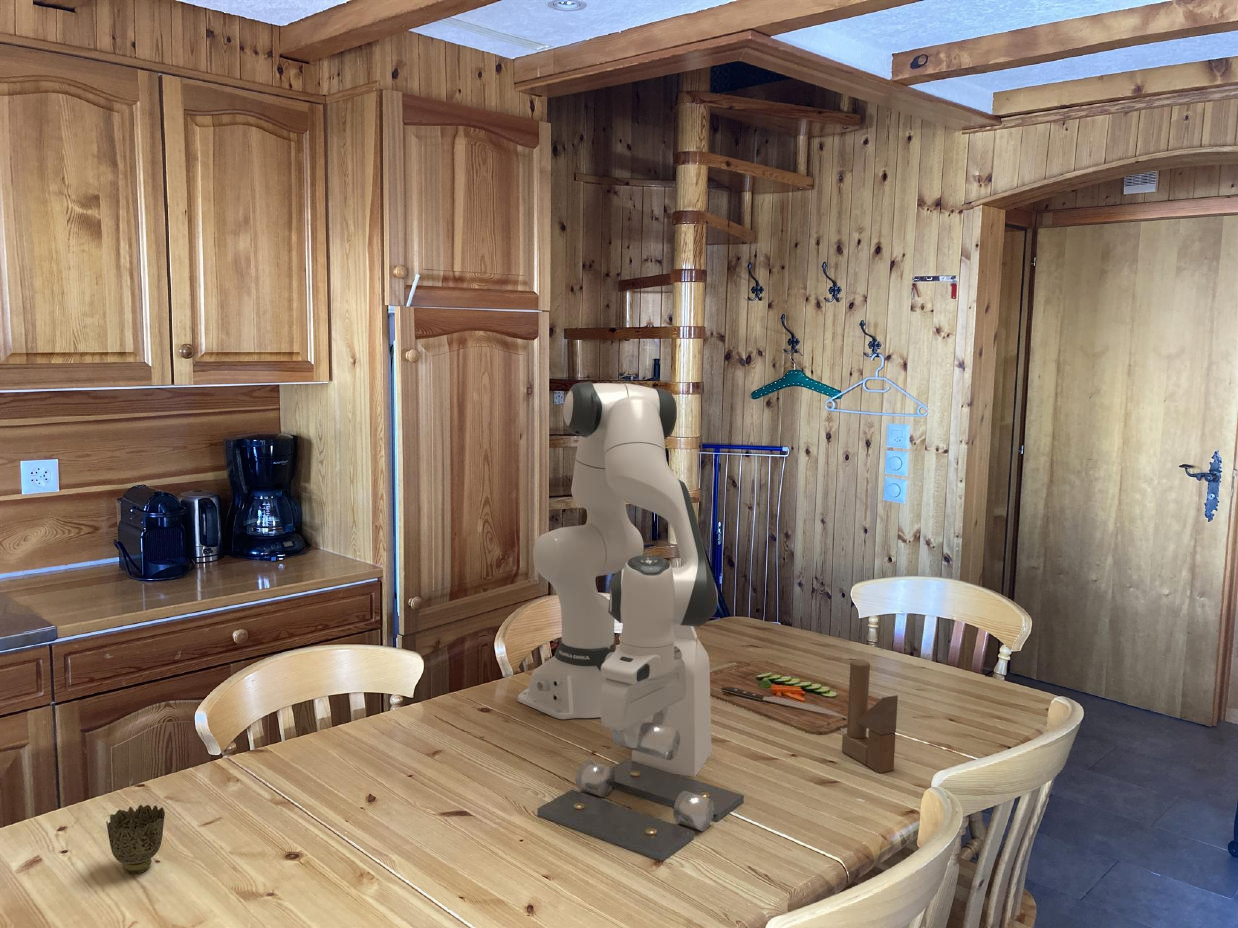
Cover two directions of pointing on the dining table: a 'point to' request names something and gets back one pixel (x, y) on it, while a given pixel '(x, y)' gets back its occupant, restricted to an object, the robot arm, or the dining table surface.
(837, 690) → the chopping board
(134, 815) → the cup
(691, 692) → the milk
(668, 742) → the knuckle
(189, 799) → the dining table surface
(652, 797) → the hinge base
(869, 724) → the wooden block
